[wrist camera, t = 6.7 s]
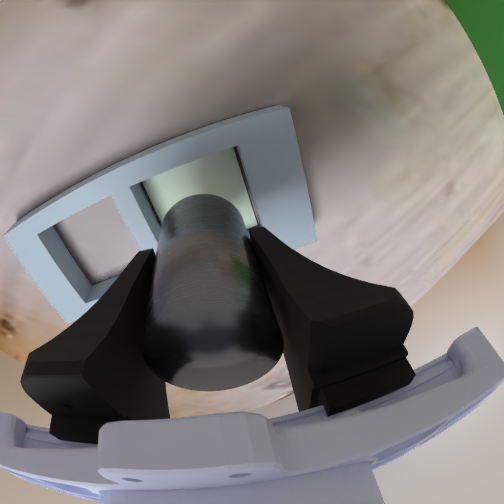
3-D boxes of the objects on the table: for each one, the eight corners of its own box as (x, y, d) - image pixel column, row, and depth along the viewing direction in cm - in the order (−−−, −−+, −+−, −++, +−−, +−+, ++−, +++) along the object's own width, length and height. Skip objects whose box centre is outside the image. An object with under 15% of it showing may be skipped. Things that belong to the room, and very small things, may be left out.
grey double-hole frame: (73, 305, 19) (67, 323, 18) (16, 221, 14) (2, 236, 13) (306, 226, 19) (317, 241, 17) (278, 104, 14) (289, 107, 13)
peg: (175, 275, 14) (173, 398, 8) (149, 206, 12) (116, 324, 6) (251, 257, 14) (288, 375, 9) (236, 184, 12) (277, 289, 6)
